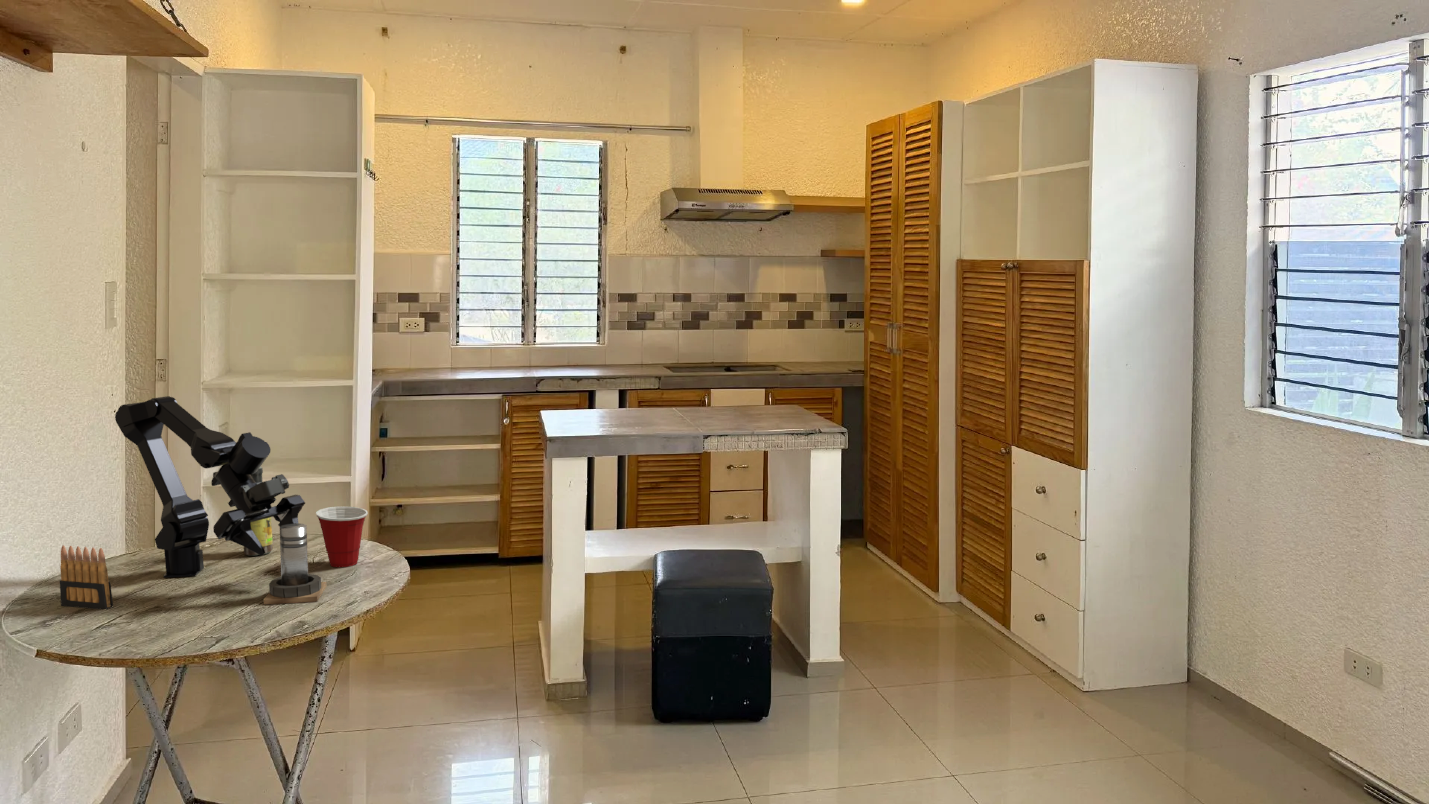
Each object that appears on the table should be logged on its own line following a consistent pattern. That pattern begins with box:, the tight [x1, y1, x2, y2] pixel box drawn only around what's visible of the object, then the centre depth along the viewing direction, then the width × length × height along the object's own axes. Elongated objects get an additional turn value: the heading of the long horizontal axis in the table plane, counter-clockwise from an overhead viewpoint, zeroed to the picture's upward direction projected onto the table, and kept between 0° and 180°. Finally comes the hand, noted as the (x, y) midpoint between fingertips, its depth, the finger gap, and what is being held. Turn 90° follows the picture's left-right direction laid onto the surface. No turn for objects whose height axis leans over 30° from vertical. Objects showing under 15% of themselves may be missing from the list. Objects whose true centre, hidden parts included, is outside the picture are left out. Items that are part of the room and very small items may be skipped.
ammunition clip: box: [59, 544, 114, 610], centre depth 214 cm, size 11×2×12 cm, turn 76°
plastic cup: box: [315, 505, 369, 568], centre depth 242 cm, size 11×11×12 cm
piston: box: [279, 522, 309, 586], centre depth 220 cm, size 5×5×13 cm
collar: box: [263, 573, 328, 605], centre depth 220 cm, size 10×10×3 cm
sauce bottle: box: [243, 466, 274, 557], centre depth 251 cm, size 6×6×20 cm
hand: (282, 548), depth 221 cm, fingers open, 9 cm apart
